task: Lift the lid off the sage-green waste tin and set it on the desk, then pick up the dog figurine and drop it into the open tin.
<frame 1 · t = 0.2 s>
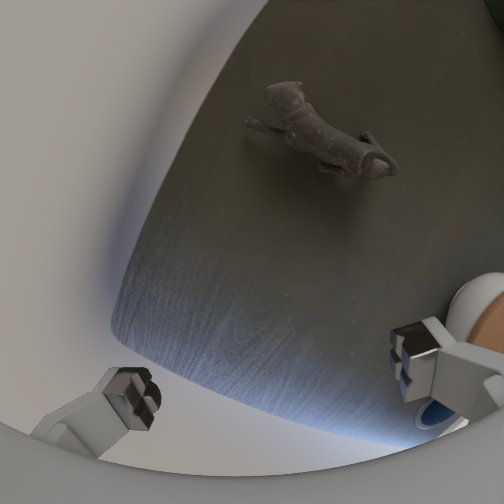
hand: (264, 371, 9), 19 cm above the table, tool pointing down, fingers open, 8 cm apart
lidded bowl: (469, 305, 27), on the table
dog figurine: (316, 134, 24), on the table
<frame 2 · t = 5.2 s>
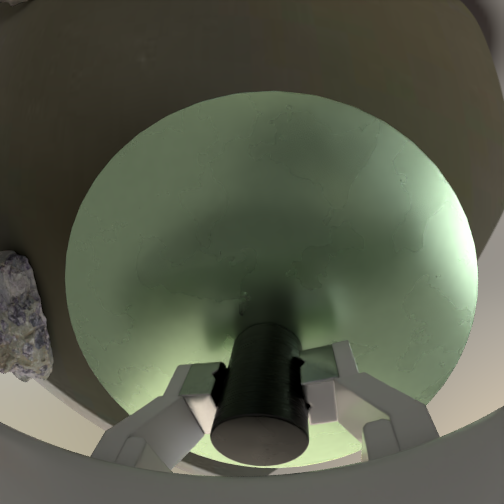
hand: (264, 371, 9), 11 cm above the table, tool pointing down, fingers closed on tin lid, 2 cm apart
mineral rock: (29, 306, 23), on the table
tin lid: (268, 343, 10), point 10 cm above the table, touching gripper, waste tin
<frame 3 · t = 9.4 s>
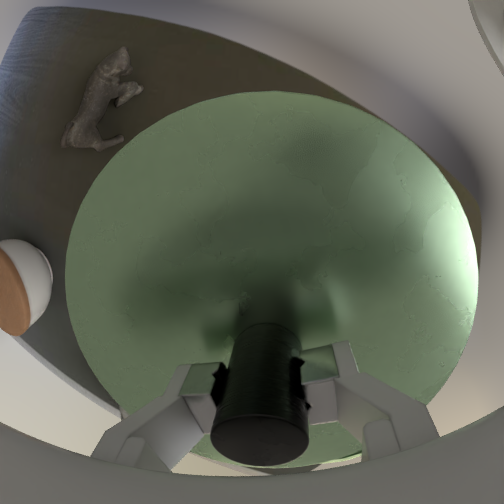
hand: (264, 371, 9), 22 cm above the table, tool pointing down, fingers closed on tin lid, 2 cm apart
tin lid: (268, 344, 10), point 20 cm above the table, touching gripper
lidded bowl: (38, 269, 34), on the table
dog figurine: (121, 101, 27), on the table
when the fingers open (2 cm above the table, at t = 13.7 s): tin lid stays where it is, point 1 cm above the table.
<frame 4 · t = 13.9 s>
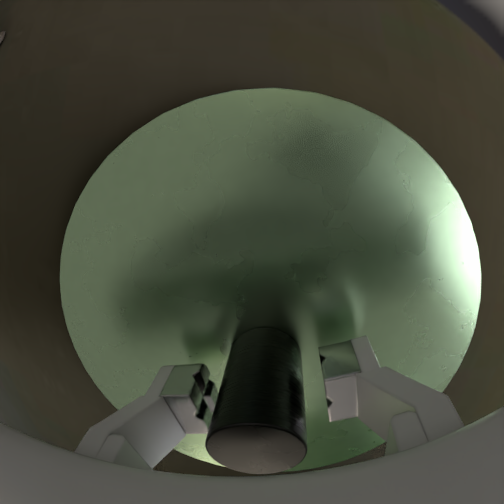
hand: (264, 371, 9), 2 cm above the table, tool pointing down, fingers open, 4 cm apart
tin lid: (266, 347, 10), point 1 cm above the table
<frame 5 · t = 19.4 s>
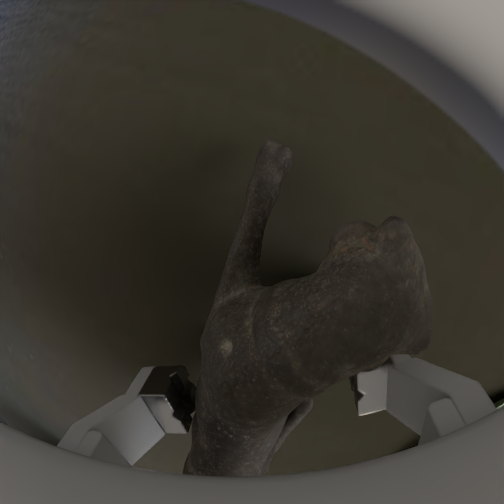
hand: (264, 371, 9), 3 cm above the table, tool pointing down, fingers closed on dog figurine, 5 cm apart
dog figurine: (284, 317, 11), on the table, touching gripper
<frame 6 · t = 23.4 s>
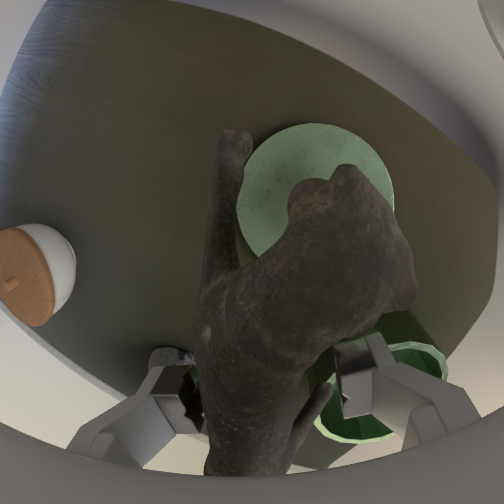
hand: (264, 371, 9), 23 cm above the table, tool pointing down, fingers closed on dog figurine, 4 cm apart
mineral rock: (181, 380, 38), on the table
tin lid: (317, 204, 29), point 1 cm above the table
lidded bowl: (59, 257, 34), on the table
waste tin: (365, 351, 34), on the table
dog figurine: (284, 303, 11), point 20 cm above the table, touching gripper
when the fingers open (11 cm above the table, at t = 27.8 s): dog figurine drops 5 cm, resting on waste tin.
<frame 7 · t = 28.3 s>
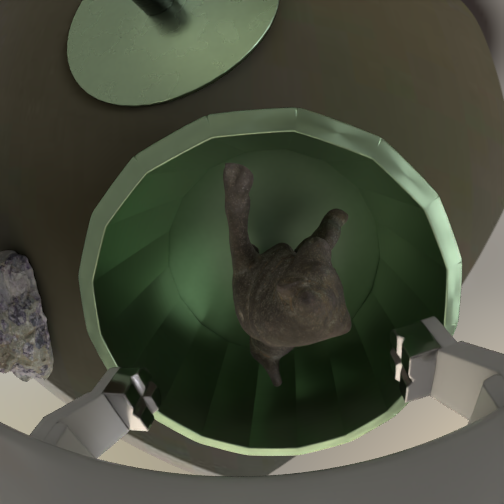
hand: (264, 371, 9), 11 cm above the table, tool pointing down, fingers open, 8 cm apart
mineral rock: (29, 306, 23), on the table
tin lid: (161, 5, 14), point 1 cm above the table
waste tin: (273, 259, 19), on the table
dog figurine: (295, 228, 14), point 4 cm above the table, touching waste tin
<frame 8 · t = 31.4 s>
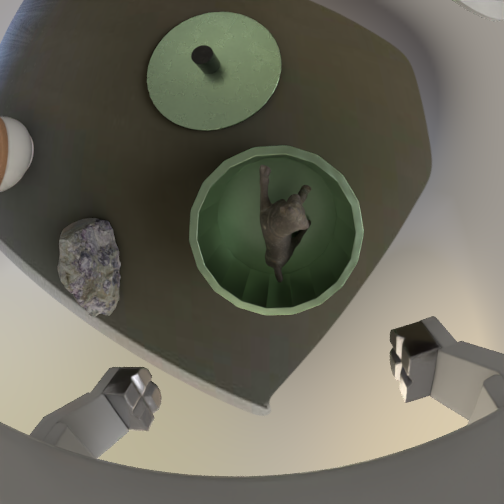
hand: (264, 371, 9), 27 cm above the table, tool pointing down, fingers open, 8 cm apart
mineral rock: (102, 259, 39), on the table
tin lid: (211, 66, 29), point 1 cm above the table
lidded bowl: (22, 152, 35), on the table
waste tin: (277, 216, 34), on the table
dog figurine: (288, 196, 30), point 4 cm above the table, touching waste tin
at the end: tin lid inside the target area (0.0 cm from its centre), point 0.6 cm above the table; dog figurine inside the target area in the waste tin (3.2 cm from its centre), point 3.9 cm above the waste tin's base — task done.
